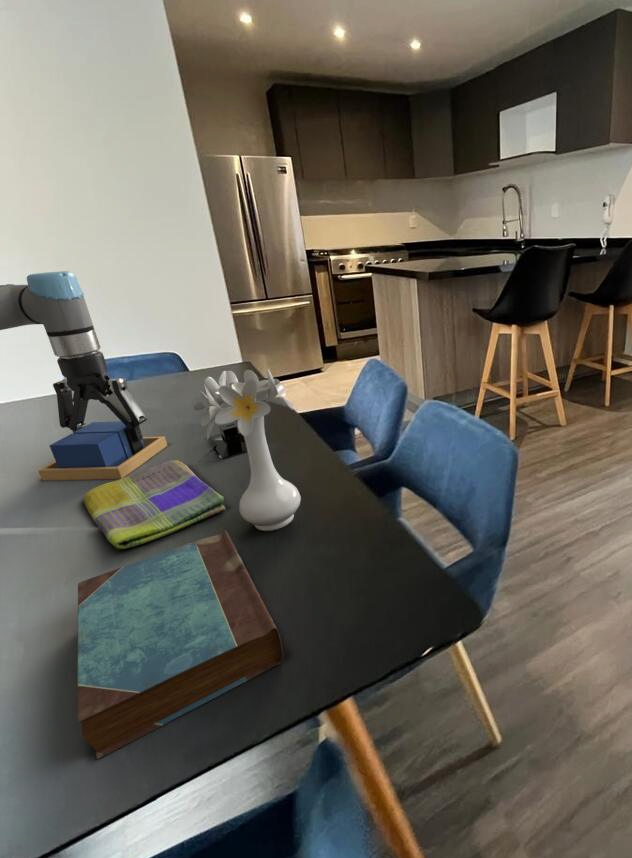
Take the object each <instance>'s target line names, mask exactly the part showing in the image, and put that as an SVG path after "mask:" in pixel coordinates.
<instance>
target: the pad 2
mask: <svg viewBox="0 0 632 858" xmlns="http://www.w3.org/2000/svg"><path fill="white" fill-rule="evenodd" d="M130 422H131V421H130ZM125 428H127V427H126V426H125V425H124V424H123V422H122V421H121V420H118V421H92V422H90V423H88V424H85V425H83V426H82V428H81V429H79V430H77V431H75V432H73V431H72V434H86V433H116V432H117V433H118V436H119V439H120V442H121V445H122V447H123V450H124V453H125V456H126V459H127V460H128V459H129V458H131V457H132V456H133V455H132V452H131V449H130V446H129V443H128V440H127V437H126V434H125V431H124V429H125ZM141 442H142V445H143V448H145V446H144V443H143V440H141Z"/></svg>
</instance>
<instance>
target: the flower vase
mask: <svg viewBox="0 0 632 858" xmlns="http://www.w3.org/2000/svg"><path fill="white" fill-rule="evenodd" d="M266 370H267V379H263V380H259V377H258V375H257V374H256V373H255V372H254V371H253V370H251V369H246V370H244V372H243V380H244V382H240V381H239V379H238V377H237V376H236V374H235V372H234V371H232V370H223V371H222V372H221V374H220V376H219V379H218V383H217V381H216V379H214V377H211V376H207V377H206V378H205V380H204V385H203V390H204V392H203V391H202V390H199V392H198V395H199V398H200V399H199V400H198V401H197V402H196V403H195V404H194V406H193V410H194V411H200V410H203V409H205V411H204V412H203V413H202V415H201V417H200V424H201V427H202V428H205V427H206V426H207V425H208V426H207V428H206V441H208V440H209V439H210V436H211V434H212V432H213V430H214V428H215V426H216V425H218V426H219V425H223V424H228V423H231V422H233V423H234V421H236V422H237V430H238V432H240V433H241V434H242V435H243V436H244V439H245V443H246V447H247V452H246V453H247V457H248V463H249V467H250V478H249V482H248V486H247V488H246V489H245V491H244V492H243V493H242V495H241V498H240V500H239V503H238V510H239V511H238V512H239V515H240V516H241V517H242V519H243V520H244V521H245V522H247V523H250V524H251V525H253V526H254V527H255V528H256V529H257V530H258V531H262V532H271V531H272V532H273V531H277V530H280V529H282V528H285V527H286V526H288V525H289V524H290V523H292V521H293V520H294V517H295V513H296V512H297V510H298V509H299V508H300V505H301V501H302V497H301V494H300V491H299V489H298V488H297V487H296V486H295V485H294V484H293V483H292V482H290V481H289V480H286V478H285V479H284V478H283V477H282V476H281V475H280V474H279V472H278V470H277V469H276V467H275V465H274V463H273V460H272V456H271V452H270V449H269V446H268V441H267V437H266V430H265V416H267V415H268V414H270V412H271V409H272V408H271V406H270V405H269V404H268V403H269V402H271V403H273V404H275V405H279V406H283V407H285V408H287V409H289V410H292V411H294V412H298V409H297V408H296V407H295V406H294V405H293V403H292V402H290V401H289V400H288V399H286V398H284V397H286V395H287V392H286V389H285V387H284V386H283V384H281V381H280V380H279V379H278V378H274V377H273V374H272V372H271V371H270V369H269V368H267V369H266Z"/></svg>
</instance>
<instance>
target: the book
mask: <svg viewBox="0 0 632 858" xmlns="http://www.w3.org/2000/svg"><path fill="white" fill-rule="evenodd" d="M283 662H284V650H283V644H282V640H281V636H280V633H279V630H278V628H277V626H276V624H275V622H274V620H273V618H272V616H271V614H270V613H269V610H268V609H267V606H266V604H265V603H264V600H263V599H262V597H261V594H260V592H259V591H258V589H257V587H256V585H255V583H254V581H253V579H252V577H251V575H250V574H249V571H248V570H247V568H246V566H245V564H244V561H243V559H242V558H241V556H240V554H239V552H238V550H237V548H236V546H235V544H234V542H233V540H232V538H231V536H230V534H229V532H228V531H227V530H222V531H221V532H220V533H218V534H217V535H212V536H208V537H204V538H202V539H199V540H195V541H192V542H189V543H185V544H183V545H181V546H178V547H174V548H172V549H169V550H166V551H163V552H160V553H158V554H155V555H151V556H149V557H147V558H144V559H141V560H138V561H136V562H132V563H129V564H126V565H124V566H120V567H118V568H116V569H113V570H110V571H108V572H107V571H106V572H105V573H102V574H99V575H96V576H94V577H93V576H92V577H91V578H87V579H85V580H82V581H79V582H78V583H77V680H76V681H77V685H76V686H77V689H76V690H77V693H76V695H77V696H76V697H77V699H76V700H77V701H76V702H77V703H76V706H77V707H76V708H77V709H76V710H77V711H76V712H77V713H76V714H77V723H81V734H82V737H83V740H84V741H85V742H86V743H87V744H88V745H89V746H91V747H92V748H93V749H94V750H95V758H96V760H99V759H102V758H103V757H106V756H107V755H109V754H111V753H113V752H116V751H117V750H119V749H121V748H123V747H124V746H127V745H128V744H130V743H132V742H134V741H136V740H138V739H140V738H142V737H144V736H145V735H147V734H150V733H151V732H153V731H155V730H157V729H159V728H161V727H163V726H164V725H166V724H168V723H171V722H172V721H174V720H176V719H178V718H181V717H182V716H184V715H186V714H188V713H190V712H192V711H193V710H195V709H197V708H198V707H199V708H200V707H201V706H203V705H204V704H206V703H208V702H210V701H212V700H214V699H216V698H218V697H220V696H222V695H224V694H226V693H227V692H230V691H232V690H233V689H236V688H237V687H239V686H241V685H243V684H244V683H246V682H248V681H250V680H252V679H254V678H256V677H258V676H259V675H261V674H263V673H264V672H266V671H268V670H270V669H272V668H274V667H276V666H279V665H281V664H282V663H283Z"/></svg>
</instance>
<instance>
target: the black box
mask: <svg viewBox="0 0 632 858" xmlns="http://www.w3.org/2000/svg"><path fill="white" fill-rule="evenodd" d="M218 428H219V432H220V436H221V437H219V438H216V439H214V442H215V443H216V445H215V446H214V447H213V448H214V449H215V451H216V452H217V454H218V457H219V458H220V459H221V460H225V459H227V458H231V457H234V456H238V455H241V454H244V453H248V452H247V447H246V443H245V439H244V436H243V435H242V434H241V433H240V431H239V429H238V425H236V424H235V423H234V421H233V422H230V423H228V424H222V425H219V424H218Z"/></svg>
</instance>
